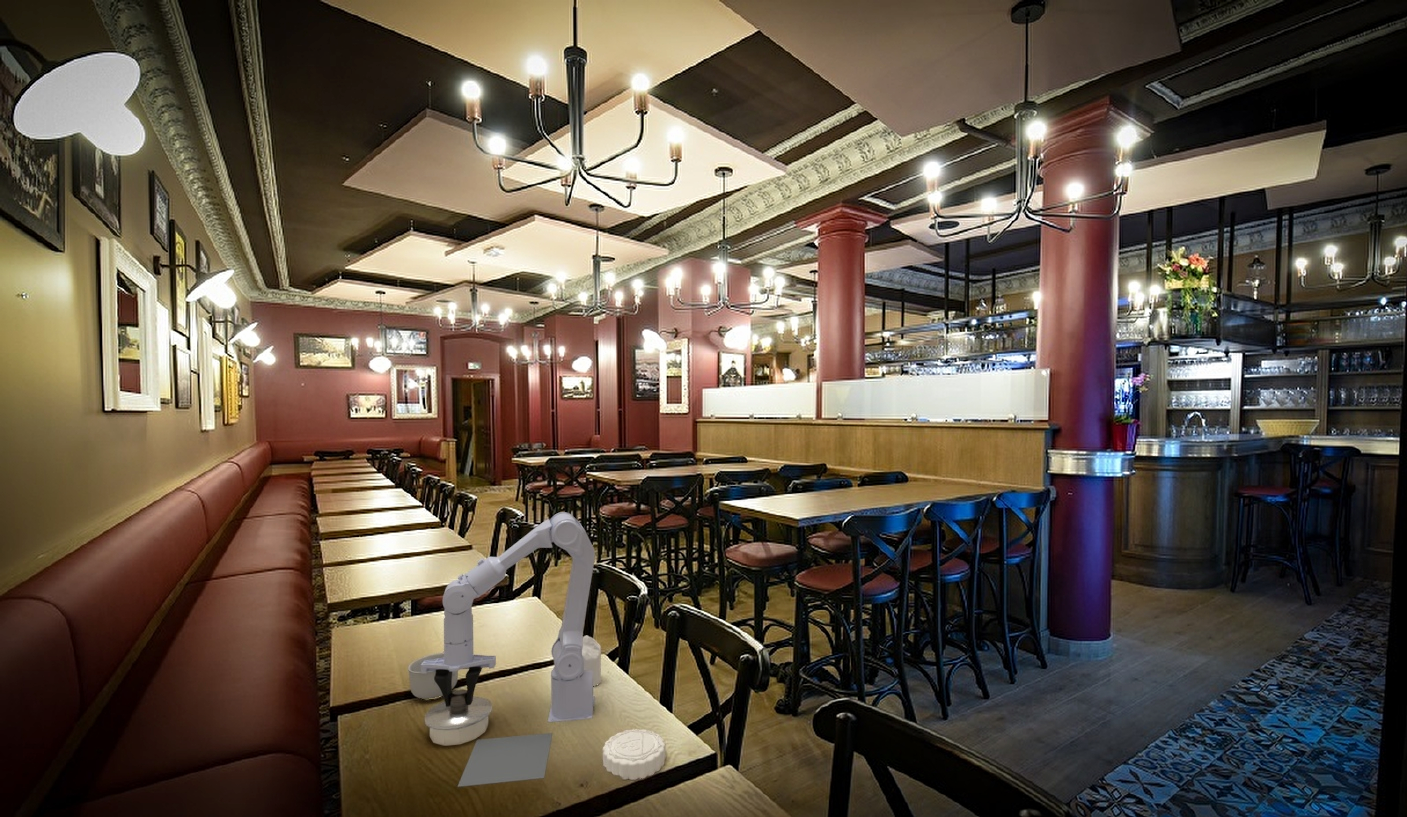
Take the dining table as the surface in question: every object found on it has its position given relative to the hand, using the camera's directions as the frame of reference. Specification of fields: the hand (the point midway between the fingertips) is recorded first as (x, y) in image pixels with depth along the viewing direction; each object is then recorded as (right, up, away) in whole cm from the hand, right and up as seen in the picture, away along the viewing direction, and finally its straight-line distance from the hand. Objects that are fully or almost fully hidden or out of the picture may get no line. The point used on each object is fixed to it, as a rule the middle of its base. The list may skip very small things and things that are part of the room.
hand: (459, 703), depth 123 cm
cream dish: (0, -6, 0) cm, 6 cm away
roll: (+23, -6, +22) cm, 32 cm away
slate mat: (+14, -6, -10) cm, 18 cm away
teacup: (-13, -6, +18) cm, 23 cm away
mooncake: (+38, -6, -10) cm, 40 cm away
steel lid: (0, -2, 0) cm, 2 cm away
